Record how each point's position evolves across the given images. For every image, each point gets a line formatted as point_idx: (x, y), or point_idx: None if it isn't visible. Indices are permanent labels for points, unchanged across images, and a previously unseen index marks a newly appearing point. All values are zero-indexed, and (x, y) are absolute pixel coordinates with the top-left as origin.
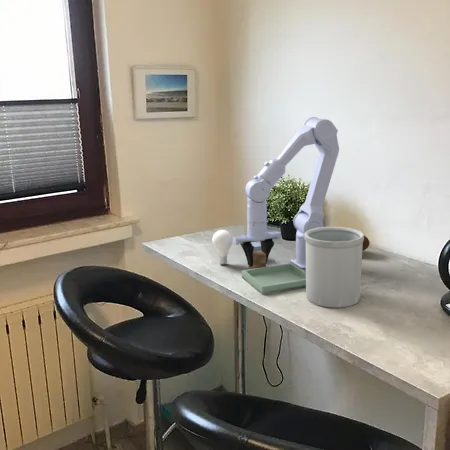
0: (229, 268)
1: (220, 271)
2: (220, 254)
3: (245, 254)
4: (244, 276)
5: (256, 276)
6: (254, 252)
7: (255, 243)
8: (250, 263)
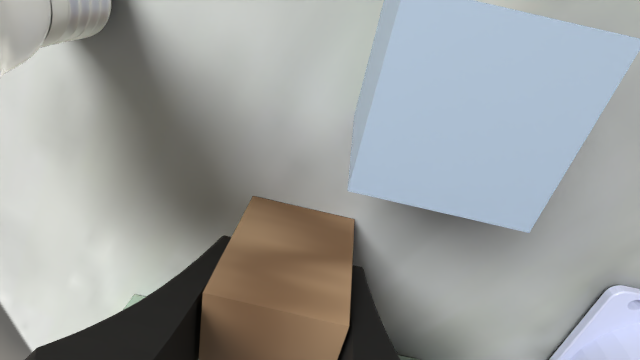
0: (109, 119)
1: (24, 132)
2: None
3: (165, 288)
4: None
5: None
6: (253, 332)
7: (534, 67)
8: None
